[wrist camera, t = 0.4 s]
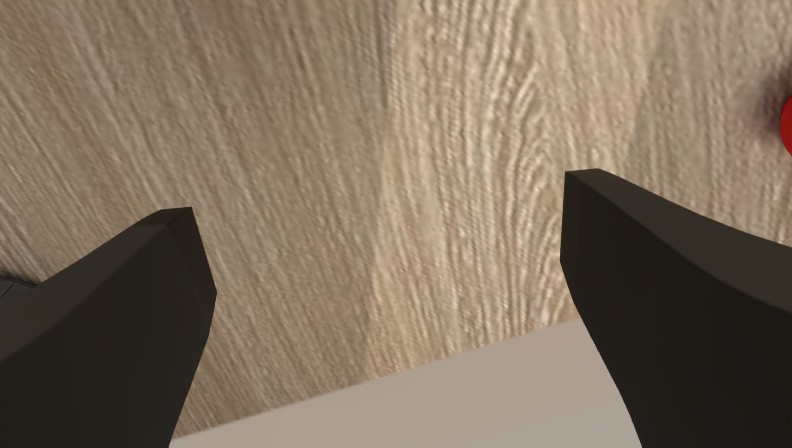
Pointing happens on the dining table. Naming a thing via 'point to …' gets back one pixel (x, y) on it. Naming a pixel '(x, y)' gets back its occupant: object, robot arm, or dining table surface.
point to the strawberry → (787, 125)
